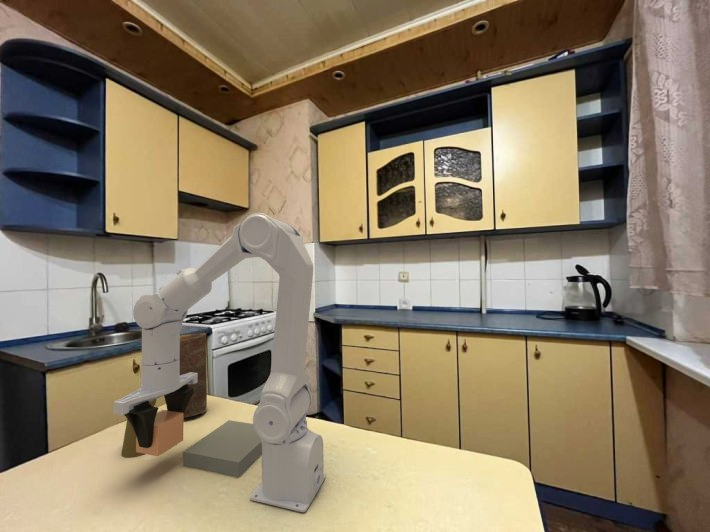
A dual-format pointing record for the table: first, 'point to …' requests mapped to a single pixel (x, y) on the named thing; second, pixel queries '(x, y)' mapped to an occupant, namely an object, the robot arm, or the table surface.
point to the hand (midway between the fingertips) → (160, 437)
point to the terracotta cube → (164, 433)
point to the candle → (194, 370)
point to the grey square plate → (225, 450)
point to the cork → (131, 439)
